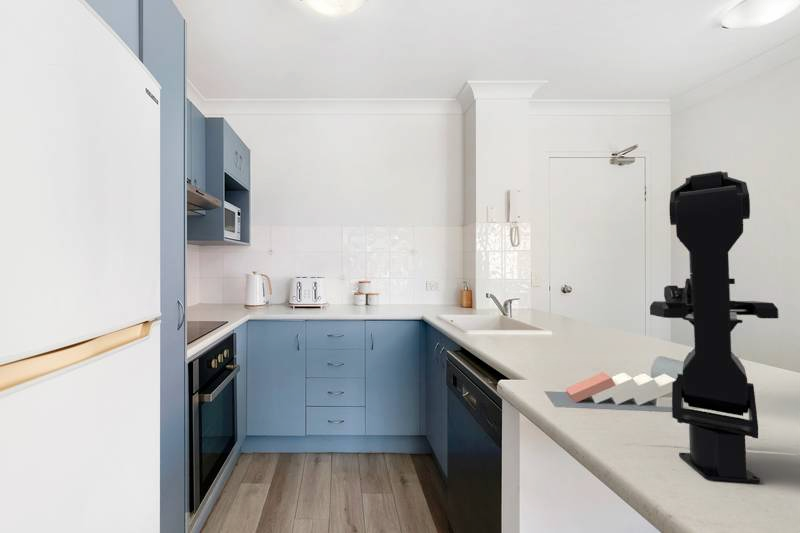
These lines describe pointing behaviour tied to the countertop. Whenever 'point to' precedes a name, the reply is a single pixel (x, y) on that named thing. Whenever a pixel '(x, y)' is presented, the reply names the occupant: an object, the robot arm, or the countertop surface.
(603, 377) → the domino
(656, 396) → the domino
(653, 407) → the slate mat
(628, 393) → the domino
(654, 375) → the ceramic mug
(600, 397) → the domino
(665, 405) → the domino
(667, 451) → the countertop surface
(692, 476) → the countertop surface
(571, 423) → the countertop surface
